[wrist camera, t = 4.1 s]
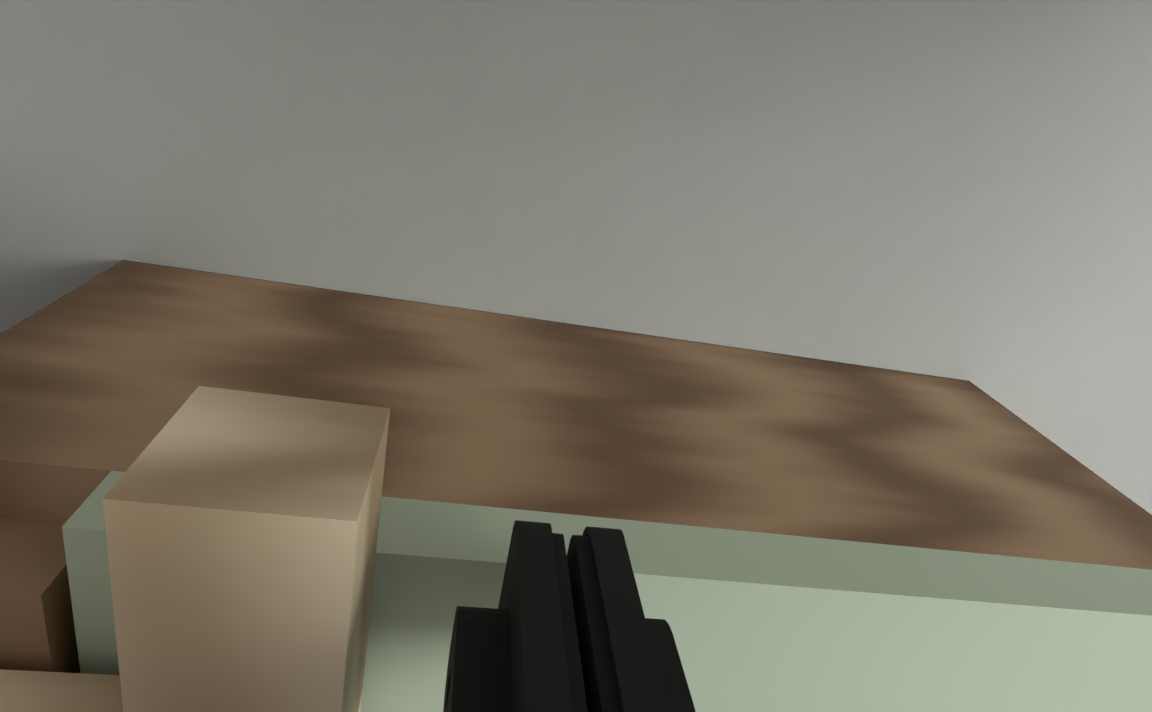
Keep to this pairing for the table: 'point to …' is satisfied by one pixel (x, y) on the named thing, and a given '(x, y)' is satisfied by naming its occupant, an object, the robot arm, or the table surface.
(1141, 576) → the toolbox lid
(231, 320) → the toolbox
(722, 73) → the table surface
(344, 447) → the wooden l-shaped block
